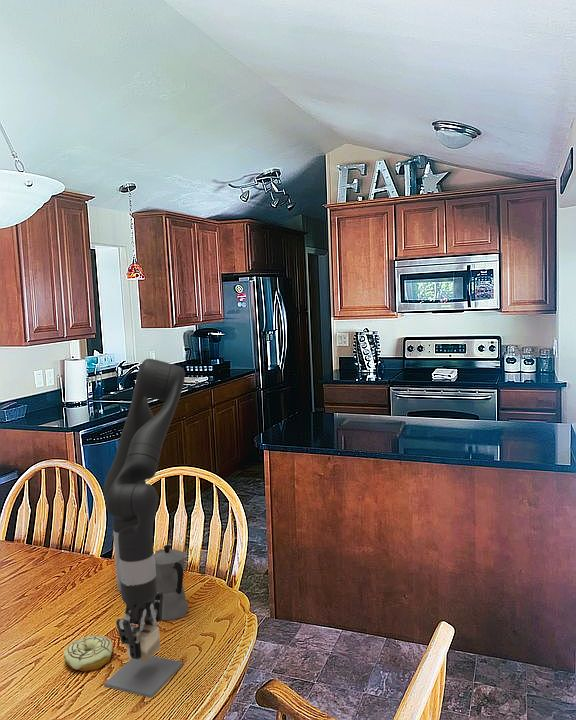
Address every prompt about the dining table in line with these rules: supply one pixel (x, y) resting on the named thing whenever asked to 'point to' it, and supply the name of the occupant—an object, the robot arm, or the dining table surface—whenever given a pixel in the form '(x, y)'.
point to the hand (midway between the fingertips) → (143, 650)
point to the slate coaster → (144, 675)
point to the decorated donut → (88, 653)
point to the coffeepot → (171, 582)
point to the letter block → (147, 642)
